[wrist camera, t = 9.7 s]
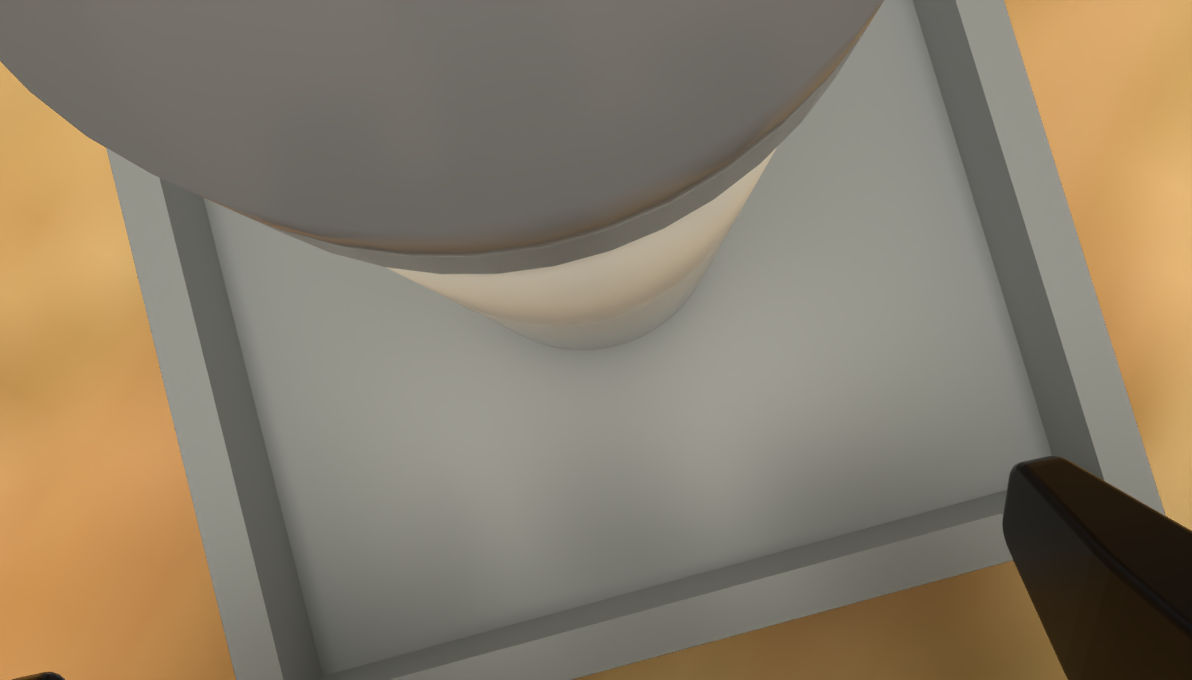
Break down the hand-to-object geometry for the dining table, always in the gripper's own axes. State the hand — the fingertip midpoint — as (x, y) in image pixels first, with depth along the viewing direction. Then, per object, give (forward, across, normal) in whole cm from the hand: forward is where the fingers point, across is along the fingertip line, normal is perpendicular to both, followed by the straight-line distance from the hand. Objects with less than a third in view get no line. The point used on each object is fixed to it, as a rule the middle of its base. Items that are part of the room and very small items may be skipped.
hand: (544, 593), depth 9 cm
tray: (+11, -1, +2) cm, 11 cm away
